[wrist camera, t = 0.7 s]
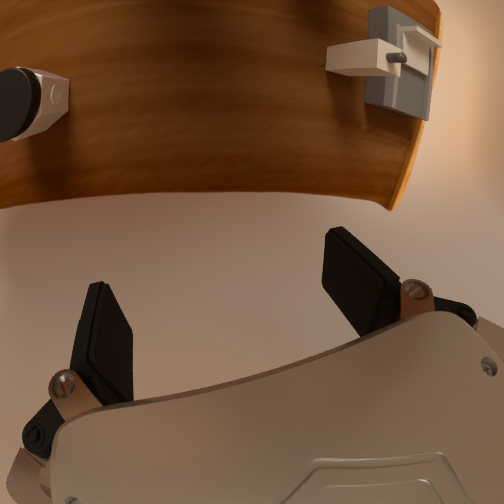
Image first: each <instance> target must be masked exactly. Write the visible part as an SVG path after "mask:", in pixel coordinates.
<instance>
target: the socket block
mask: <svg viewBox="0 0 504 504" xmlns="http://www.w3.org/2000/svg"><path fill="white" fill-rule="evenodd" d="M405 26H418V27H420V28H421V29H423V30H424V31H426V32H427V33H429V34H430V35H432V36H433V33H432V32H431V31H429V30H428V29H426V28H425V27H423V26H422V25H420V24H419V23H417V22H416V21H414V20H413V19H411V18H409V17H408V16H406V15H404V14H403V13H401V12H399V11H397V10H396V9H394V8H392V7H390V6H388V5H387V6H382V7H378V8H374V9H369V39H376V38H379V39H381V40H383V41H385V42H387V43H390V44H392V45H394V46H396V47H398V48H400V27H405ZM369 39H368V40H369ZM433 57H434V47H429V71H428V76H427V75H423V74H422V73H420V72H418V71H416V70H414V69H412V68H410V67H408V66H406V65H404V64H402V63H401V71H400V77H388V76H366V84H365V94H364V103H368V104H371V105H375V106H378V107H381V108H385V109H388V110H391V111H394V112H397V113H400V114H403V115H406V116H408V117H413V118H417V119H421V120H425V121H428V118H429V111H430V102H431V92H432V79H433Z"/></svg>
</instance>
